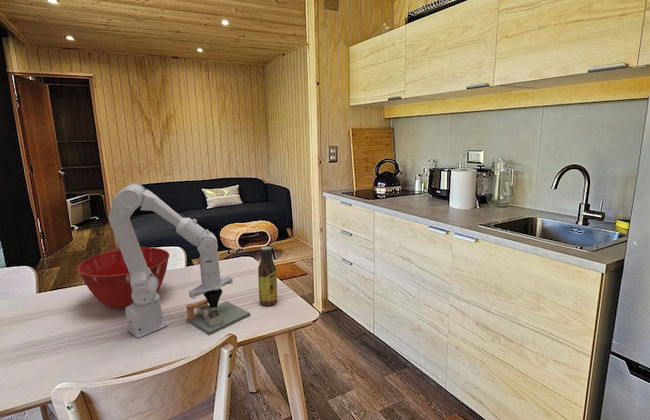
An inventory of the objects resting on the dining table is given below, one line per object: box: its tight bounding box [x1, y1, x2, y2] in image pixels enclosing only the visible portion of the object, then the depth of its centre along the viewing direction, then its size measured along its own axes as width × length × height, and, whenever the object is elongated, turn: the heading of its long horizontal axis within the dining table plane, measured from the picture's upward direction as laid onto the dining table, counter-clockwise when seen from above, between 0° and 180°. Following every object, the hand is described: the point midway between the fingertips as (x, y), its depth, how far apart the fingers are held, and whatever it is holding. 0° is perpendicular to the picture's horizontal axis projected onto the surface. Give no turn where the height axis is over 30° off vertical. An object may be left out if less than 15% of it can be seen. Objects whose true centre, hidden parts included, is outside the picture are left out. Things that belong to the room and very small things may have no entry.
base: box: [185, 301, 251, 336], centre depth 118 cm, size 15×13×6 cm
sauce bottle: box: [257, 246, 278, 307], centre depth 127 cm, size 6×6×20 cm
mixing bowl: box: [77, 246, 170, 310], centre depth 131 cm, size 28×28×16 cm
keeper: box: [185, 298, 209, 320], centre depth 119 cm, size 8×2×5 cm, turn 139°
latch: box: [196, 303, 224, 327], centre depth 117 cm, size 12×4×2 cm, turn 41°
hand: (213, 310), depth 120 cm, fingers closed
